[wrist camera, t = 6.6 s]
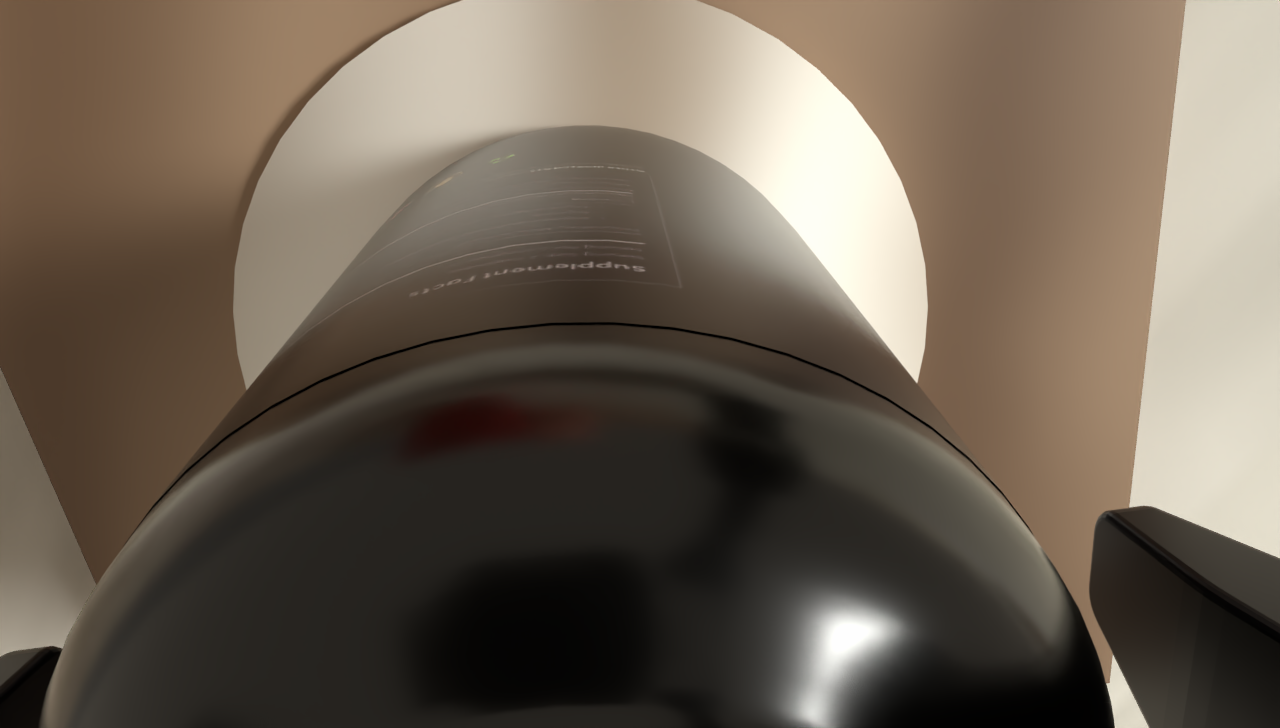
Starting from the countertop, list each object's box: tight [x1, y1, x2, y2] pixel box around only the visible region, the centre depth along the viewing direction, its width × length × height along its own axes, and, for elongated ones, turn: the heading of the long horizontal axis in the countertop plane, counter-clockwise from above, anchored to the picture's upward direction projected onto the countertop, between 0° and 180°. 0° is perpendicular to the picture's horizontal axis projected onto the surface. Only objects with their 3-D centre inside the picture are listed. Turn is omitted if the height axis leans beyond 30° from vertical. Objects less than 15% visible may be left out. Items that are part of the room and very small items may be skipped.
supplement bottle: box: [38, 125, 1115, 728], centre depth 8 cm, size 7×7×12 cm
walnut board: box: [0, 0, 1186, 683], centre depth 14 cm, size 17×16×2 cm
